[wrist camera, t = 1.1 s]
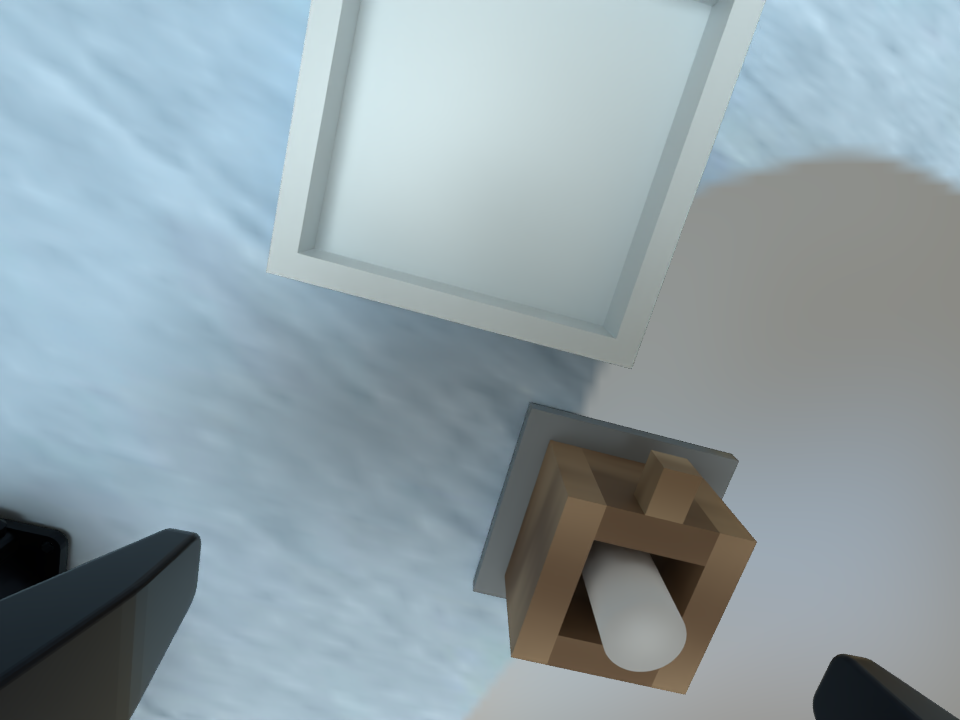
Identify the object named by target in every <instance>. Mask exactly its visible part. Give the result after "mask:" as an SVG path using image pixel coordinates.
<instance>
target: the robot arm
mask: <svg viewBox="0 0 960 720" xmlns="http://www.w3.org/2000/svg"><path fill="white" fill-rule="evenodd" d="M49 543H51V544H52V545H53V546H51V545H50V544H49ZM67 551H68V540H67V538H66V537H65V535H63V534H62V533H61V532H59V531H56V530H52V529H47V528H43V527H38V526H34V525H29V524H24V523H20V522H15V521H11V520H6V519H2V518H0V720H130V718H131V716H132V714H133V713H134V711H135V709H136V707H137V705H138V704H139V702H140V700H141V698H142V696H143V694H144V692H145V690H146V688H147V687H148V685H149V683H150V681H151V679H152V677H153V675H154V673H155V671H156V670H157V668H158V666H159V664H160V662H161V660H162V658H163V656H164V654H165V653H166V651H167V649H168V647H169V645H170V643H171V641H172V639H173V637H174V636H175V634H176V632H177V630H178V628H179V626H180V624H181V622H182V620H183V618H184V617H185V615H186V613H187V611H188V609H189V607H190V605H191V603H192V601H193V598H194V595H195V592H196V588H197V581H198V571H199V561H200V551H201V539H200V536H199V535H198V534H197V533H194V532H188V531H183V530H178V529H171V528H169V529H165V530H162V531H159V532H157V533H155V534H152V535H150V536H148V537H145V538H143V539H141V540H139V541H136V542H134V543H132V544H129V545H127V546H125V547H122V548H120V549H118V550H115V551H113V552H111V553H108V554H106V555H104V556H101V557H99V558H97V559H94V560H92V561H90V562H87V563H85V564H83V565H80V566H78V567H76V568H73V569H71V570H69V571H66V564H67ZM813 712H814V716H815V719H816V720H959V719H958V718H956V717H955V716H953V715H952V714H951V713H949V712H948V711H946V710H945V709H943V708H942V707H940V706H939V705H937V704H936V703H934V702H933V701H931V700H930V699H928V698H927V697H925V696H924V695H922V694H921V693H919V692H918V691H916V690H915V689H913V688H912V687H910V686H909V685H908V684H906V683H904V682H903V681H902V680H900V679H899V678H897V677H896V676H894V675H893V674H891V673H890V672H888V671H887V670H885V669H884V668H882V667H881V666H879V665H878V664H876V663H875V662H873V661H872V660H869V659H867V658H863V657H858V656H853V655H847V654H839V655H837V656H836V657H834V658H833V659H832V661H831V662H830V664H829V666H828V668H827V671H826V672H825V674H824V676H823V679H822V680H821V682H820V685H819V686H818V689H817V690H816V693H815V695H814V698H813Z"/></svg>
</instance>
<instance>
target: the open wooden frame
mask: <svg viewBox="0 0 960 720" xmlns="http://www.w3.org/2000/svg"><path fill="white" fill-rule="evenodd" d="M594 540H596V541H600V542H605V543H609V544H613V545H617V546H622V547H626V548H630V549H634V550H639V551H643V552H647V553H649V554H650V556H651V558H652V560H653V562H654V564H655V566H656V568H657V570H658V572H659V574H660V576H661V578H662V580H663V582H664V584H665V586H666V588H667V590H668V592H669V594H670V596H671V598H672V600H673V602H674V604H675V606H676V608H677V610H678V612H679V614H680V616H681V618H682V620H683V622H684V624H685V627H686V633H687V635H686V642H685V645H684V647H683V649H682V651H681V652H680V654H679V655H678V656H677V657H676V658H675V659H674V660H673V661H672V662H670V663H669V664H667V665H665V666H664V667H661V668H659V669H656V670H652V671H647V672H635V671H629V670H626V669H623V668H621V667H619V666H617V665H616V664H615V663H613V662H612V661H611V660H610V659H609V658H608V656H607V655H606V653H605V650H604V647H603V644H602V641H601V637H600V634H599V630H598V627H597V623H596V620H595V617H594V613H593V610H592V606H591V603H590V599H589V596H588V593H587V589H586V586H585V582H584V579H583V575H582V570H583V567H584V565H585V562H586V560H587V557H588V554H589V552H590V549H591V546H592V544H593V541H594ZM756 543H757V542H756V540H755V539H754V538H753V537H752V536H751V534H750V533H749V532H748V531H747V530H746V528H745V527H744V526H743V525H742V524H741V522H740V521H739V520H738V519H737V518H736V517H735V515H734V514H733V513H732V512H731V510H730V509H729V508H728V507H727V506H726V504H725V503H724V502H723V501H722V500H721V498H720V497H719V496H718V495H717V494H716V493H715V491H714V490H713V489H712V488H711V487H710V485H709V484H708V483H707V482H706V481H705V479H704V478H703V477H702V476H701V475H700V474H699V472H698V471H697V470H696V469H695V468H694V466H693V465H692V464H691V463H690V462H689V461H688V459H685V458H681V457H678V456H674V455H670V454H666V453H662V452H658V451H654V450H651V451H650V454H649V457H648V459H647V462H646V464H644V463H640V462H636V461H632V460H628V459H624V458H620V457H617V456H613V455H609V454H605V453H601V452H597V451H593V450H589V449H585V448H581V447H577V446H573V445H569V444H565V443H561V442H557V441H553V440H550V441H549V444H548V447H547V450H546V453H545V456H544V459H543V462H542V465H541V468H540V471H539V474H538V477H537V480H536V483H535V486H534V489H533V492H532V495H531V498H530V501H529V504H528V507H527V510H526V513H525V516H524V519H523V522H522V525H521V528H520V531H519V534H518V537H517V540H516V543H515V546H514V549H513V552H512V555H511V558H510V561H509V564H508V567H507V570H506V573H505V588H506V600H507V612H508V624H509V637H510V649H511V657H513V658H518V659H522V660H527V661H532V662H536V663H541V664H545V665H550V666H555V667H559V668H564V669H569V670H573V671H578V672H583V673H587V674H592V675H597V676H602V677H606V678H611V679H616V680H620V681H625V682H629V683H634V684H638V685H643V686H648V687H652V688H657V689H662V690H666V691H671V692H676V693H681V694H686V692H687V690H688V687H689V685H690V683H691V681H692V679H693V677H694V675H695V672H696V670H697V668H698V666H699V664H700V662H701V660H702V658H703V656H704V653H705V651H706V649H707V647H708V645H709V643H710V640H711V638H712V636H713V634H714V632H715V630H716V628H717V626H718V624H719V622H720V619H721V617H722V615H723V613H724V611H725V609H726V607H727V605H728V602H729V600H730V598H731V596H732V594H733V592H734V590H735V588H736V585H737V583H738V581H739V579H740V577H741V575H742V573H743V570H744V568H745V566H746V564H747V562H748V560H749V558H750V556H751V553H752V551H753V549H754V547H755V545H756Z"/></svg>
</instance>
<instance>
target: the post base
mask: <svg viewBox="0 0 960 720" xmlns="http://www.w3.org/2000/svg"><path fill="white" fill-rule="evenodd" d="M550 440H553V441H557V442H561V443H565V444H569V445H573V446H577V447H581V448H585V449H589V450H593V451H597V452H601V453H605V454H609V455H613V456H617V457H620V458H624V459H628V460H632V461H636V462H640V463H644V464H646V462H647V459H648V457H649V454H650V451H651V450H654V451H658V452H662V453H666V454H670V455H674V456H678V457H681V458H685V459H688V461H689V462H690V463H691V464H692V465H693V466H694V468H695V469H696V470H697V471H698V472H699V474H700V475H701V476H702V477H703V478H704V479H705V481H706V482H707V483H708V484H709V485H710V487H711V488H712V489H713V490H714V491H715V493H716V494H717V495H718V496H719V497H720V498H721V500H722V498H723V496H724V494H725V491H726V489H727V487H728V485H729V482H730V480H731V478H732V475H733V473H734V471H735V469H736V467H737V464H738V460H737V459H736V458H735V457H734V456H733V455H732V454H730V453H726V452H722V451H718V450H714V449H710V448H706V447H703V446H698V445H695V444H691V443H687V442H683V441H679V440H675V439H671V438H667V437H663V436H660V435H655V434H651V433H648V432H644V431H640V430H636V429H632V428H628V427H624V426H620V425H616V424H613V423H609V422H605V421H601V420H596V419H593V418H589V417H585V416H581V415H577V414H573V413H570V412H566V411H562V410H558V409H554V408H550V407H546V406H542V405H538V404H534V403H530V404H529V407H528V410H527V413H526V417H525V420H524V423H523V426H522V429H521V432H520V435H519V439H518V442H517V445H516V448H515V451H514V454H513V458H512V461H511V464H510V467H509V470H508V473H507V477H506V480H505V483H504V486H503V489H502V492H501V495H500V499H499V502H498V505H497V508H496V511H495V514H494V518H493V521H492V524H491V527H490V530H489V533H488V536H487V540H486V543H485V546H484V549H483V552H482V555H481V559H480V562H479V565H478V568H477V571H476V574H475V577H474V581H473V591H474V592H479V593H483V594H487V595H492V596H496V597H501V598H505V599H506V588H505V573H506V570H507V567H508V564H509V561H510V558H511V555H512V552H513V549H514V546H515V543H516V540H517V537H518V534H519V531H520V528H521V525H522V522H523V519H524V516H525V513H526V510H527V507H528V504H529V501H530V498H531V495H532V492H533V489H534V486H535V483H536V480H537V477H538V474H539V471H540V468H541V465H542V462H543V459H544V456H545V453H546V450H547V447H548V444H549V441H550ZM582 575H583V579H584V582H585V586H586V589H587V593H588V596H589V599H590V603H591V606H592V610H593V613H594V617H595V620H596V623H597V627H598V630H599V634H600V637H601V641H602V644H603V647H604V650H605V653H606V655H607V656H608V658H609V659H610V660H611V661H612V662H613V663H615V664H616V665H617V666H619V667H621V668H623V669H626V670H629V671H635V672H647V671H652V670H656V669H659V668H661V667H664V666H665V665H667V664H669V663H670V662H672V661H673V660H674V659H675V658H676V657H677V656H678V655H679V654H680V652H681V651H682V649H683V647H684V645H685V642H686V635H687V633H686V627H685V624H684V622H683V620H682V618H681V616H680V614H679V612H678V610H677V608H676V606H675V604H674V602H673V600H672V598H671V596H670V594H669V592H668V590H667V588H666V586H665V584H664V582H663V580H662V578H661V576H660V574H659V572H658V570H657V568H656V566H655V564H654V562H653V560H652V558H651V556H650V554H649V553H647V552H643V551H639V550H634V549H630V548H626V547H622V546H617V545H613V544H609V543H605V542H600V541H596V540H594V541H593V544H592V546H591V549H590V552H589V554H588V557H587V560H586V562H585V565H584V567H583V570H582Z"/></svg>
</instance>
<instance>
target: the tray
mask: <svg viewBox="0 0 960 720" xmlns="http://www.w3.org/2000/svg"><path fill="white" fill-rule="evenodd" d="M765 1H766V0H311V6H310V12H309V18H308V24H307V30H306V36H305V42H304V48H303V54H302V60H301V66H300V72H299V78H298V84H297V90H296V96H295V102H294V108H293V114H292V120H291V126H290V132H289V138H288V144H287V150H286V156H285V162H284V168H283V174H282V180H281V186H280V192H279V198H278V204H277V210H276V216H275V222H274V228H273V234H272V240H271V246H270V252H269V258H268V264H267V270H266V272H267V273H271V274H275V275H278V276H282V277H286V278H290V279H294V280H297V281H301V282H305V283H309V284H312V285H316V286H320V287H324V288H327V289H331V290H335V291H339V292H343V293H346V294H350V295H354V296H358V297H361V298H365V299H369V300H373V301H377V302H380V303H384V304H388V305H392V306H395V307H399V308H403V309H407V310H410V311H414V312H418V313H422V314H426V315H429V316H433V317H437V318H441V319H444V320H448V321H452V322H456V323H460V324H463V325H467V326H471V327H475V328H478V329H482V330H486V331H490V332H493V333H497V334H501V335H505V336H509V337H512V338H516V339H520V340H524V341H527V342H531V343H535V344H539V345H543V346H546V347H550V348H554V349H558V350H561V351H565V352H569V353H573V354H576V355H580V356H584V357H588V358H592V359H595V360H599V361H603V362H607V363H610V364H615V365H618V366H622V367H626V368H629V369H632V366H633V364H634V361H635V358H636V355H637V353H638V350H639V347H640V344H641V342H642V339H643V336H644V334H645V331H646V328H647V325H648V323H649V320H650V317H651V314H652V312H653V309H654V306H655V303H656V301H657V298H658V295H659V292H660V290H661V287H662V284H663V281H664V279H665V276H666V273H667V270H668V268H669V265H670V262H671V259H672V257H673V254H674V250H675V249H676V246H677V243H678V240H679V238H680V235H681V232H682V229H683V226H684V223H685V221H686V218H687V215H688V213H689V210H690V207H691V205H692V202H693V199H694V196H695V194H696V191H697V188H698V185H699V183H700V180H701V177H702V174H703V172H704V169H705V166H706V163H707V161H708V158H709V155H710V152H711V150H712V147H713V144H714V141H715V139H716V136H717V133H718V130H719V128H720V125H721V122H722V119H723V117H724V114H725V111H726V108H727V106H728V103H729V100H730V97H731V95H732V92H733V89H734V86H735V84H736V81H737V78H738V75H739V73H740V70H741V67H742V64H743V62H744V59H745V56H746V53H747V51H748V48H749V45H750V42H751V40H752V37H753V34H754V31H755V29H756V26H757V23H758V21H759V18H760V15H761V12H762V10H763V7H764V4H765Z"/></svg>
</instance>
